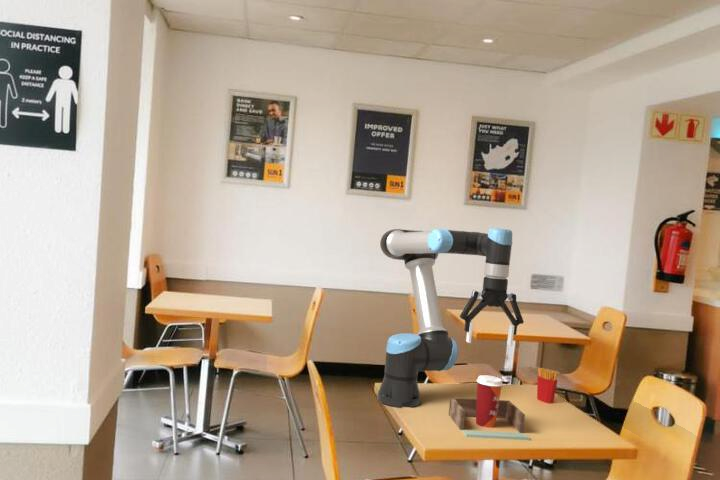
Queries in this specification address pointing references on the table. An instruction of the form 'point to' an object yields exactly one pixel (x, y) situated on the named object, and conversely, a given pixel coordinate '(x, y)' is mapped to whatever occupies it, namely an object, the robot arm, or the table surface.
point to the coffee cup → (487, 400)
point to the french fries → (546, 385)
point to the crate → (468, 409)
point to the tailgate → (495, 435)
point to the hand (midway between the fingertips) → (489, 343)
